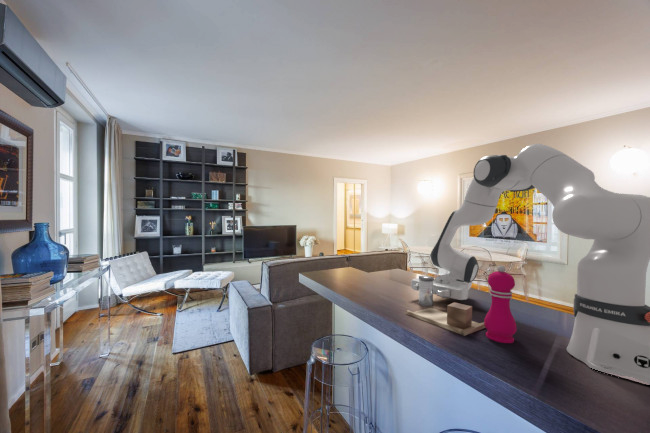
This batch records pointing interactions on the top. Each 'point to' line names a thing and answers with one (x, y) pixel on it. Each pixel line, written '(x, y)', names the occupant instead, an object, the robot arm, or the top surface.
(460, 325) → the walnut block
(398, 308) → the top surface
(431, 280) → the canister
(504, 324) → the pepper mill
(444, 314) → the board
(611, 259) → the robot arm
